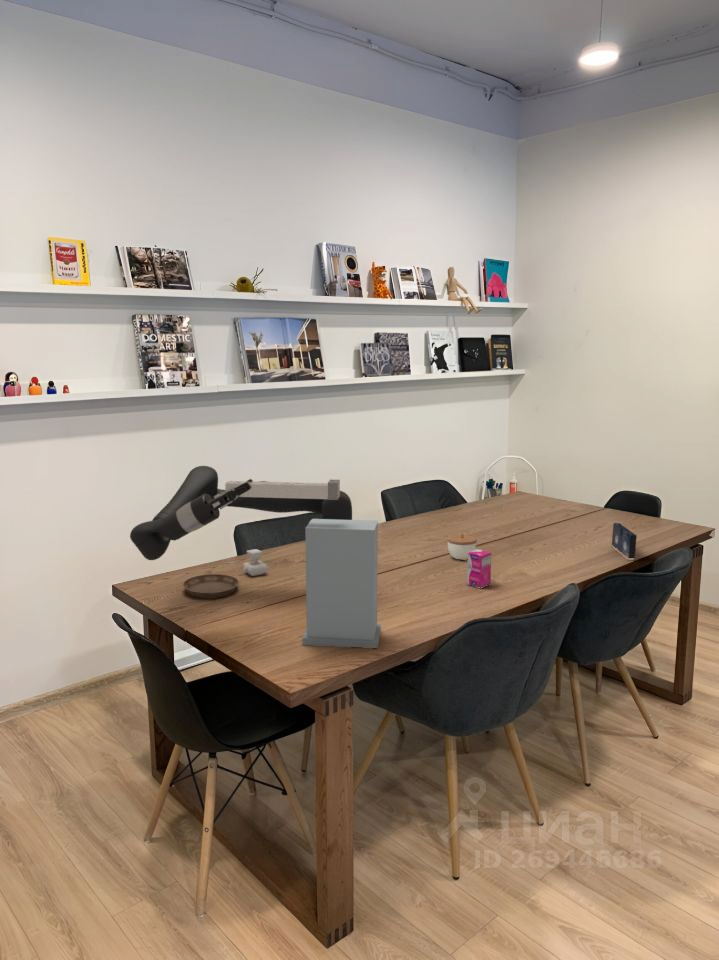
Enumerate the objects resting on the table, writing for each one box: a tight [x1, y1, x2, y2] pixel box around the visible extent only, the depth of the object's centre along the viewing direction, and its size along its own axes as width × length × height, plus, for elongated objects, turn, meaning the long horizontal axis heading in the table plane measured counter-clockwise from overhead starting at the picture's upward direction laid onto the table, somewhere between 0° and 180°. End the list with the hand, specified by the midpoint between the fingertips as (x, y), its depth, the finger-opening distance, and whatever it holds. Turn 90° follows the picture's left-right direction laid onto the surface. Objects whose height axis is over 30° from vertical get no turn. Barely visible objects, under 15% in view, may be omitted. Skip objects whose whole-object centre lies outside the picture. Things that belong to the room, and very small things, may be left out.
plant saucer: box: [182, 573, 240, 599], centre depth 240 cm, size 18×18×3 cm
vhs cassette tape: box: [611, 522, 638, 558], centre depth 281 cm, size 18×3×10 cm, turn 179°
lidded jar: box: [446, 533, 477, 559], centre depth 276 cm, size 11×11×9 cm
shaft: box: [224, 478, 341, 500], centre depth 197 cm, size 30×4×4 cm, turn 84°
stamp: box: [242, 548, 269, 577], centre depth 256 cm, size 9×7×8 cm
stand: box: [301, 518, 382, 649], centre depth 200 cm, size 20×12×32 cm, turn 84°
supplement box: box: [466, 548, 492, 588], centre depth 245 cm, size 6×6×12 cm
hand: (250, 483), depth 197 cm, fingers closed on shaft, 3 cm apart
